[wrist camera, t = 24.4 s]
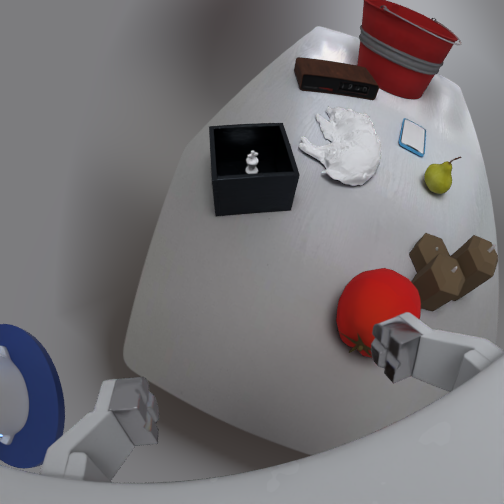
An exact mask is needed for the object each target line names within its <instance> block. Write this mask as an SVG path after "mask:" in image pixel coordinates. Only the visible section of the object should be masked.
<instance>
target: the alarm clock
mask: <svg viewBox="0 0 504 504" xmlns="http://www.w3.org/2000/svg"><path fill="white" fill-rule="evenodd" d="M294 71H295V74H296V77H297V80H298V84H299V87H300V89H301V90H302V91H311V92H321V93H329V94H337V95H344V96H351V97H357V98H363V99H369V100H374V99H375V98H376V95H377V92H378V90H379V86H378V84H377V83H376V81H375V80H374V78H373V77H372V75H371V74H370V73H369V71H368V70H367V68H365V67H361V66H356V65H350V64H345V63H339V62H332V61H325V60H318V59H310V58H300V57H298V58H297V59H296V63H295V69H294Z"/></svg>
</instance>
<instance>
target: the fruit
mask: <svg viewBox="0 0 504 504" xmlns="http://www.w3.org/2000/svg"><path fill="white" fill-rule="evenodd" d="M458 158H461V157H458ZM458 158H455V159H453V160H456V159H458ZM453 160H452V161H453ZM452 161H450V162H444V163H443V164H431V165H430V166H429V167H428V168H427V170H426V172H425V176H424V179H425V183H426V185H427V187H428V188H429V189H430V190H431V191H432V192H434V193H437V194H443V193H445V192H447V191H448V190H449V189H450V187H451V184H452V176H451V171H452V164H451V162H452Z"/></svg>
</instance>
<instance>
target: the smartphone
mask: <svg viewBox="0 0 504 504" xmlns="http://www.w3.org/2000/svg"><path fill="white" fill-rule="evenodd" d="M425 140H426V130H425V129H424V128H423V127H421V126H419V125H417V124H415V123H414V122H412V121H410V120H408V119H403V123H402V128H401V133H400V139H399V144H400V145H401V146H402V147H404V148H406V149H408V150H410V151H412V152H414V153H415V154H417V155H419V156H421V157H423V156H424V154H425Z"/></svg>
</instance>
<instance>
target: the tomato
mask: <svg viewBox="0 0 504 504" xmlns="http://www.w3.org/2000/svg"><path fill="white" fill-rule="evenodd" d="M420 311H421V301H420V296H419V292H418V290H417V288H416V287H415V286H414V285H413V283H412V282H411V281H410V280H409V279H408V278H406V277H404V276H402V275H400V274H399V273H397V272H395V271H393V270H390V269H386V268H381V269H375V270H370V271H365V272H362V273H360V274H359V275H357V276H355V277H354V278H353V279H352V280H351V281H350V282H349V283H348V284H347V286H346V287H345V289H344V291H343V293H342V295H341V297H340V299H339V302H338V307H337V319H336V322H337V326H338V330H339V334H340V338H341V339H342V341H343V342H344V343H345V344H347V345H348V346H350V347H353V348H352V349H351V350H350V351H349V353H350V352H352V351H354V350H356V349H357V350H358V351H359V352H360V353H361V354H362V355H363V356H366V357H371V358H372V354H371V343H372V342H373V340H374V339H375V337H374V336H373V334H372V331H373V327H374V324H377V323H380V322H383V321H385V320H388V319H391V318H394V317H396V316H398V315H400V314H403V313H405V312H409V313H411V314H412V315H414V316H415V317H416V318H418V319H420ZM338 330H337V331H338Z"/></svg>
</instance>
